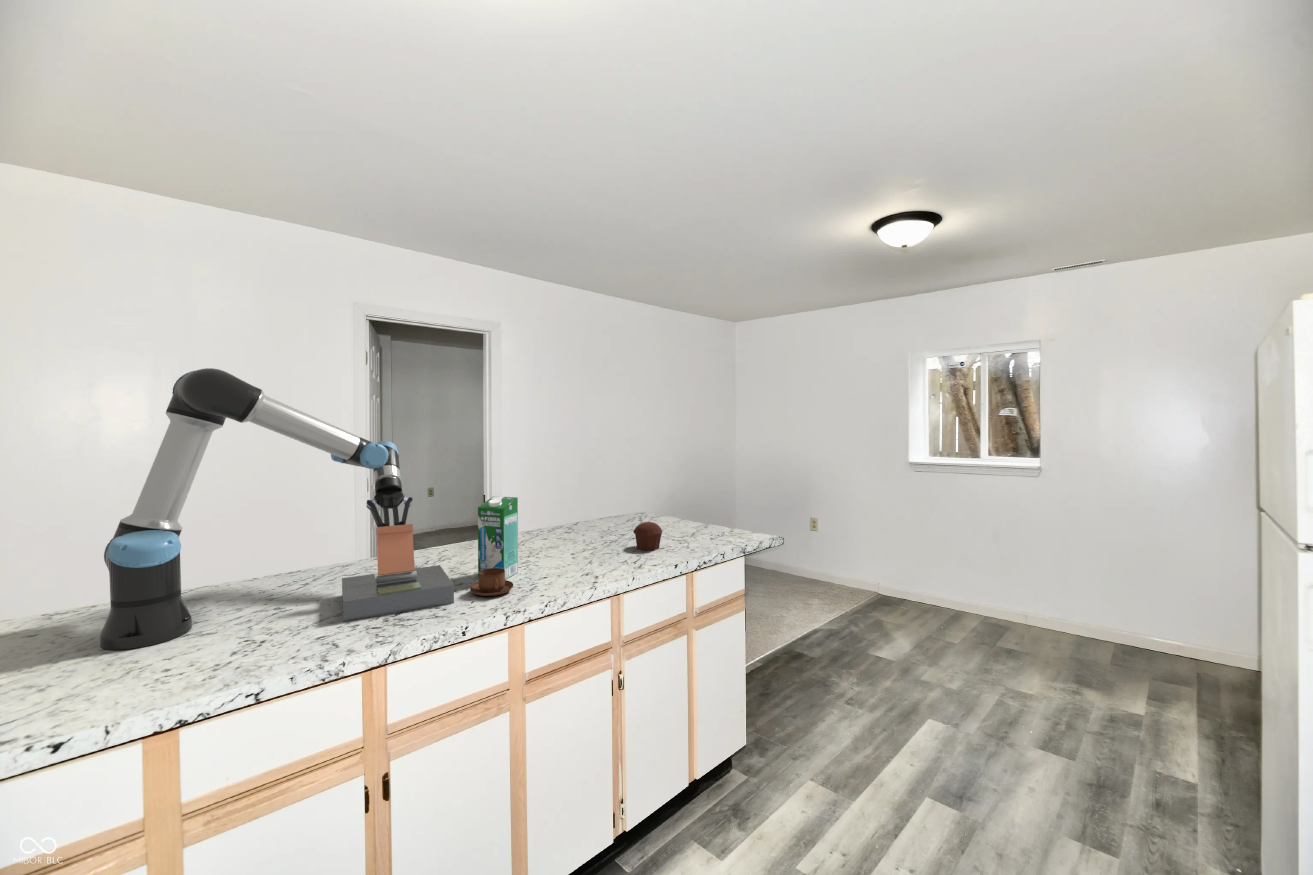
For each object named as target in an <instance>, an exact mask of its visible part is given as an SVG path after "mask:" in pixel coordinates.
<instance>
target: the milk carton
mask: <svg viewBox="0 0 1313 875" xmlns="http://www.w3.org/2000/svg"><path fill="white" fill-rule="evenodd" d="M518 499H519V497H518V496H516V497H515V496H514V497H513V496H497V495H496V496H494V495H493V496H491V497H490V498H488V499H487V500H486V501H485V502H483V503H482V504H480V505H479V506H478V507H477V570H478V571H477V579H479V572H480V571H481V570H484V569H489V568H501V569H504V570H505V580H508V579H509V578H511V577H512V576H515V575H516V574H518V571H519V562H518V561H519V557H518V556H519V551H518V550H519V549H518V548H519V544H518V543H519V538H518V536H519V535H518V534H519V531H518V530H519V520H518V519H519V518H518V512H519V510H518V509H519V508H518V507H519V506H518V505H519V504H518V503H519V502H518Z"/></svg>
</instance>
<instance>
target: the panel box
mask: <svg viewBox="0 0 1313 875" xmlns="http://www.w3.org/2000/svg"><path fill="white" fill-rule="evenodd" d="M414 571H417V578H414V579H407V580H400V581H393V582H386V583H378V584H377V583H376V576H378V572H377V573H372V574H371V573H369V574H361V575H357V576H356V575H355V576H354V575H353V576H347V577H342V578H341V596H342V597H341V598H342V601H341V602H342V619H343V620H342V621H343V623H344V622H350V621H355V620H361V619H368V618H373V617H374V618H375V617H379V616H380V617H381V616H384V615H392V614H398V613H402V612H407V611H408V612H410V611H414V610H420V609H427V608H431V607H437V606H445V605H449V604H450V605H451V604H454V602H455V597H454V596H455V586H454V583H453V581H452V580H451V579H450V577H449V576H448V574H447V573H446V572H445V571H444V569H443V568H442V566H441V565H439V564H438V565H432V566H431V565H430V566H424V567H423V566H422V567H415V570H414ZM409 572H412V571H409ZM402 573H404V572H402ZM394 574H397V573H394ZM387 575H390V574H387ZM379 576H382V575H379Z"/></svg>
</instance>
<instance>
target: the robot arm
mask: <svg viewBox="0 0 1313 875" xmlns="http://www.w3.org/2000/svg"><path fill="white" fill-rule="evenodd" d="M171 393H172V396H171V398H170V401H169V403H168V405H167V408H166V411H165V415H166V416H167V418H168V419H169V421H170V422H169V424H168V427H167V429H166V431H165V434H164V436H163V439H162V441H161V443H160V445H159V448H158V450H157V453H156V454H155V455H156V456H155V458H154V460H153V463H152V465H151V467H150V470H149V472H148V474H147V477H146V478H145V479H146V480H145V483H144V484H143V486H142V490H141V491H140V494H139V497H138V499H137V501H136V504H135V506H134V509H133V511H132V513H131V514H129V515H127V516H126V517H123V518H121V519H120V521H119V522H118V525H117V528H116V530H115V532H114V535H113V537H112V538H111V539H110V540H109V542H108V543H107V545H106V546H105V549H104V553H103V560H104V563H105V566H106V567H107V570H108V572H109V573H108V575H109V596H110V597H109V599H110V610H109V613H108V615H107V617H106V619H105V623H104V624H103V628H102V630H101V632H100V635H99V646H100V647H101V649H105V650H111V651H119V650H122V651H123V650H130V649H132V650H133V649H138V648H144V647H149V646H153V645H156V644H157V645H158V644H160V643H164V642H167V641H170V640H173V639H176V638H179V637H180V636H183V635H185V634H186V633H188V632H190V631H191V630H192V628H193V618H192V616H191V613H190V612H189V610H188V608H187V606H186V604H185V602H184V601H185V600H184V599H183V597H182V575H181V568H182V567H181V550H182V544H181V541H180V536H181V533H182V531H183V527H182V525H181V523H179V518H180V515H181V513H182V510H183V507H184V504H185V502H186V500H187V498H188V494H189V492H190V490H191V487H192V485H193V482H194V480H195V478H196V475H197V472H198V470H199V467H200V465H201V462H202V460H203V457H204V455H205V452H206V450H207V447H208V444H209V442H210V440H211V437H212V434H213V432H215V431H216V430H219V429H221V428H223V426H224V424H225V421H226V419H230V420H232V421H235V422H238V423H241V424H243V423H247V422H249V423H252V424H255V425H256V426H259V427H262V428H263V429H267V430H269V431H273V432H274V433H277V434H280V435H282V436H285V437H288V438H290V439H293V440H295V441H296V442H297V441H298V442H300V443H303V444H306V445H307V446H311V447H312V448H313V447H314V448H315V449H318V450H321V451H323V452H326V453H328V454H330V457H331V460H332V461H333V462H335V463H341V464H345V465H351V466H356V467H361V468H366V469H369V470H373V479H374V491H375V492H374V493H375V495H374V496H373V499H368V500H366V508H367V509H368V510H369V511H370V513H371V515H372V518H373V520H374V523H375V524H376V528H377V527H385V526H391V525H390V514H389V512H390V511H389V509H391V510H392V517H393V518H392V519H393V526H396V525H407V519H408V514H409V509H410V507H411V506H412V504H413V500H414V499H413V497H411V496H409V497H407V496H405V494H404V492H403V485H402V478H401V469H400V459H399V458H400V454H399V451H398V447H397V445H396V444H395V443H393V442H392V441H388V440H386V441H379V442H373V441H370V440H367V439H365V438H363V437H362V436H361V437H360V436H359V435H356V434H354V433H352V432H350V431H347V430H345V429H343V428H341V427H338V426H335V425H333V424H331V423H329V422H327V421H324V420H322V419H320V418H317V417H315V416H313V415H310V414H308V413H306V412H304V411H302V410H299V409H297V408H294V407H292V406H290V405H288V404H286V403H283V402H281V401H278V400H276V399H274V398H271V397H269V396H267V395H266V394H265V392H264V390H263V389H261V388H259V387H256V386H254V385H253V384H250V383H248V382H246V381H245V380H242V379H240V378H239V377H236V376H234V375H233V374H231V373H229V372H228V371H225V370H222V369H219V368H212V367H211V368H201V369H196V370H192V371H191V370H190V371H188V372H187V373H185V374H183V375H181V376H180V377H178V379H177V380H175V382H174V384H173V387H172V392H171ZM402 503H403V505H404V507H403V512H402V517H401V520H400V515H399V507H400V506H401V504H402ZM376 505H377V506H379V507H380V508H382V512H383V521H382V518H381V515H380V513H379V511H378V509H377V506H376Z"/></svg>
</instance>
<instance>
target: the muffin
mask: <svg viewBox="0 0 1313 875" xmlns="http://www.w3.org/2000/svg"><path fill="white" fill-rule="evenodd" d="M632 532H633V534H634V537H635V543H636V549H637V550H639V549H640V551H645V552H647V551H649V552H650V551H656V550H660V543H661V539H662V538H661V537H662V534H663V529H662V528H661V526H660V525H659V524H657V523H656V522H653V521H644V522H640V523H639V524H637V525H636V527H635V528H634V530H633V531H632Z"/></svg>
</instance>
